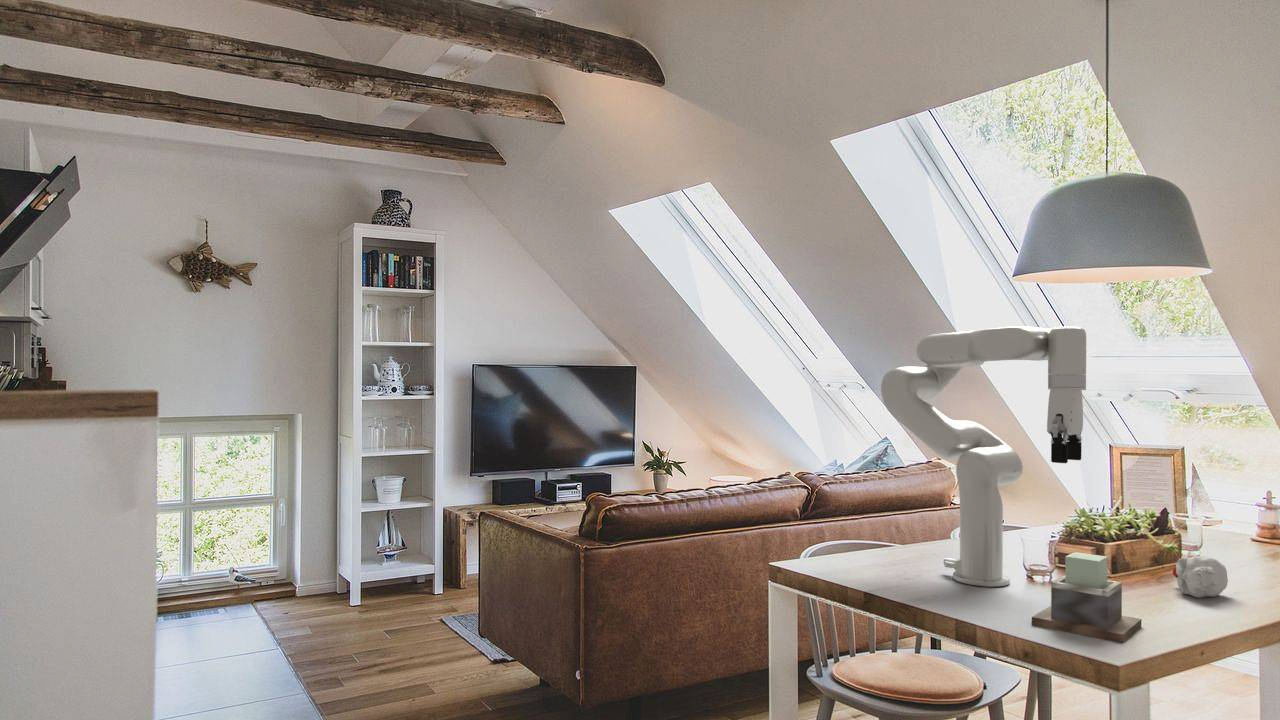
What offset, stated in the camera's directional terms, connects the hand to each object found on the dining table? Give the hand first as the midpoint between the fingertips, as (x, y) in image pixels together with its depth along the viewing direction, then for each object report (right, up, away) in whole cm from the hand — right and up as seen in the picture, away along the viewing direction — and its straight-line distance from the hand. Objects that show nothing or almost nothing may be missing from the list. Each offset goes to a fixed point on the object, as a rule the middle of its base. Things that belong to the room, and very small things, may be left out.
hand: (1066, 461), depth 188 cm
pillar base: (-6, -30, -20) cm, 36 cm away
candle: (+33, -31, +7) cm, 46 cm away
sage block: (-6, -22, -20) cm, 30 cm away
